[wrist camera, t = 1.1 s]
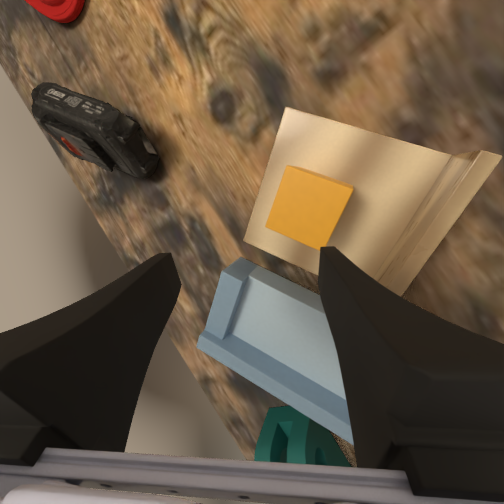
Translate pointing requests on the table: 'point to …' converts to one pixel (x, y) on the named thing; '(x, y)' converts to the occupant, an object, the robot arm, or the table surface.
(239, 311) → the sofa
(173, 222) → the table surface
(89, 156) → the battery
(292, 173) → the block
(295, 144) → the low wooden bench
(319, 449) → the bracket
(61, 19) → the tracker holder
